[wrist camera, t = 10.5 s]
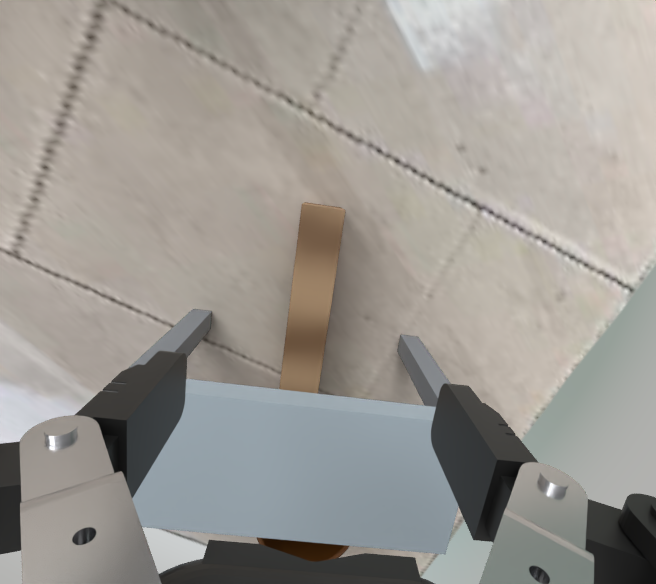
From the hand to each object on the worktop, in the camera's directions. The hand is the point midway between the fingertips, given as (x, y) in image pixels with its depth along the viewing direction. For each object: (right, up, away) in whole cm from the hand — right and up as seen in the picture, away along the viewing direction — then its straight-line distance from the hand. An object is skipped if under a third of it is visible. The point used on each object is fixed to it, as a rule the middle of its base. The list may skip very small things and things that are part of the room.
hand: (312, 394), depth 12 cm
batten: (-1, +1, +22) cm, 22 cm away
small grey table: (-2, -4, +23) cm, 23 cm away
